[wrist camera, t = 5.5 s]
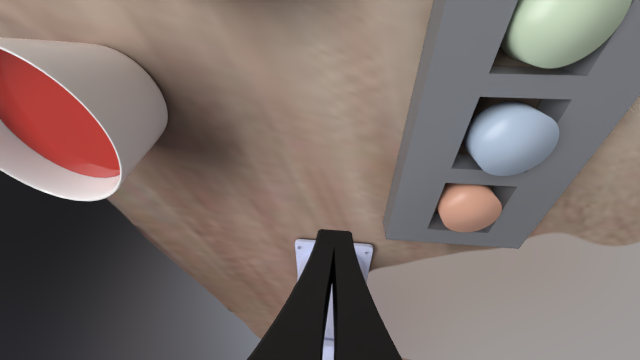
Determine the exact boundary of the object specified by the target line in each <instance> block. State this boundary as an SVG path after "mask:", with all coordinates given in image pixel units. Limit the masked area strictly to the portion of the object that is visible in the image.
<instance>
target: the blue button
mask: <svg viewBox="0 0 640 360" xmlns="http://www.w3.org/2000/svg"><path fill="white" fill-rule="evenodd" d="M558 139H559V127H558V125H557V123H556V122H555V121H554V120H553V119H552V118H551V117H549V116H547V115H546V114H544V113H542V112H540V111H538V110H537V109H535V108H533V107H531V106H530V105H528V104H526V103H523V102H520V101H504V102H500V103H497V104H494V105H492V106H490V107H488V108H486V109H484V110H483V111H482V112H480V113H479V114H478V115H477V116H476V117H475V118H474V119H473V120H472V121H471V122H470V124H469V125H468V128H467V130H466V133H465V135H464V145H465V148H466V150H467V151H468V152H469V154H470V155H471V156H472V157H473V159H474V160H475V161H476V162H477V164H478V165H479V166H480V167H481V168H482V169H483V170H484V171H485V172H487V173H489V174H492V175H496V176H510V175H515V174H519V173H522V172H525V171H527V170H529V169H531V168H533V167H535V166H536V165H538V164H539V163H541V162H542V161H543V160H544V159H546V158H547V157H548V156H549V155H550V153H551V152H552V151H553V149H554V148H555V146H556V144H557V142H558Z"/></svg>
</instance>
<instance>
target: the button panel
mask: <svg viewBox="0 0 640 360" xmlns="http://www.w3.org/2000/svg"><path fill="white" fill-rule="evenodd" d="M517 1H518V0H434V2H433V6H432V10H431V15H430V19H429V24H428V28H427V32H426V37H425V41H424V45H423V50H422V54H421V59H420V63H419V67H418V72H417V76H416V80H415V85H414V89H413V94H412V98H411V102H410V107H409V111H408V115H407V120H406V124H405V129H404V133H403V137H402V142H401V146H400V150H399V155H398V159H397V164H396V168H395V172H394V177H393V181H392V185H391V190H390V194H389V199H388V203H387V207H386V212H385V216H384V221H383V225H384V231H385V237H386V239H392V240H405V241H419V242H433V243H447V244H461V245H474V246H488V247H502V248H516V249H519V248H520V246H521V245H522V244H523V243H524V241H525V240H526V239H527V238H528V236H529V235H530V234H531V232H532V231H533V230H534V229H535V227H536V226H537V225H538V224H539V222H540V221H541V220H542V218H543V217H544V216H545V215H546V213H547V212H548V211H549V210H550V208H551V207H552V206H553V205H554V203H555V202H556V201H557V199H558V198H559V197H560V196H561V194H562V193H563V192H564V191H565V189H566V188H567V187H568V185H569V184H570V183H571V182H572V180H573V179H574V178H575V177H576V175H577V174H578V173H579V172H580V170H581V169H582V168H583V166H584V165H585V164H586V163H587V161H588V160H589V159H590V158H591V156H592V155H593V154H594V152H595V151H596V150H597V149H598V147H599V146H600V145H601V144H602V142H603V141H604V140H605V139H606V137H607V136H608V135H609V133H610V132H611V131H612V130H613V128H614V127H615V126H616V125H617V123H618V122H619V121H620V119H621V118H622V117H623V116H624V114H625V113H626V112H627V111H628V109H629V108H630V107H631V105H632V104H633V103H634V102H635V100H636V99H637V98H638V97H639V95H640V0H632V2H631V5H630V7H629V9H628V12H627V14H626V15H625V17H624V19H623V20H622V22H621V23H620V25H619V26H618V28H617V29H616V30H615V31H614V33H613V34H612V35H611V36H610V37H609V38H608V39H607V40H606V41H605V42H604V43H603V44H602V45H601V46H599V47H598V48H597V49H596V50H594V51H593V52H592V53H590V54H589V55H587V56H585V57H584V58H582V59H580V60H578V61H576V62H574V63H572V64H569V65H566V66H562V67H558V68H541V67H514V66H492V64H493V62H494V59H495V57H496V54H497V52H498V49H499V47H500V44H501V42H502V39H503V37H504V34H505V32H506V29H507V27H508V24H509V21H510V19H511V16H512V14H513V11H514V9H515V6H516V4H517ZM479 97H505V98H539V99H542V100H541V101H540V103H539V105H538V107H537V110H538V111H540V112H542V113H544V114H546V115H547V116H549V117H551V118H552V119H553V120H554V121H555V122H556V123H557V125H558V127H559V139H558V142H557V144H556V146H555V148H554V149H553V151H552V152H551V153H550V155H549V156H548V157H547V158H546V159H544V160H543V161H542V162H541V163H539V164H538V165H536V166H535V167H533V168H531V169H529V170H527V171H525V172H522V173H519V174H515V175H510V176H496V175H492V174H489V173H487V172H485V171H484V170H483V169H482V168H481V167H480V166H479V165H478V164H477V162H476V161H475V160H474V159H473V157H472V156H471V155H460V154H457V153H458V150H459V148H460V145H461V143H462V140H463V138H464V135H465V133H466V130H467V128H468V125H469V122H470V120H471V117H472V115H473V112H474V110H475V107H476V105H477V102H478V100H479ZM445 183H459V184H477V185H494V187H493V188H492V190H491V191H492V192H493V193H494V195H495V196H496V197H497V198H498V200H499V201H500V203H501V205H502V211H501V214H500V216H499V217H498V218H497V220H496V221H495V222H493V223H492V224H491V225H489V226H487V227H485V228H483V229H481V230H478V231H473V232H456V231H452V230H450V229H448V228H447V227H446V226H445V225H444V224H443V222H442V219H441V217H440V215H439V213H434V211H435V208H436V206H437V203H438V201H439V198H440V196H441V193H442V191H443V188H444V186H445Z"/></svg>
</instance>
